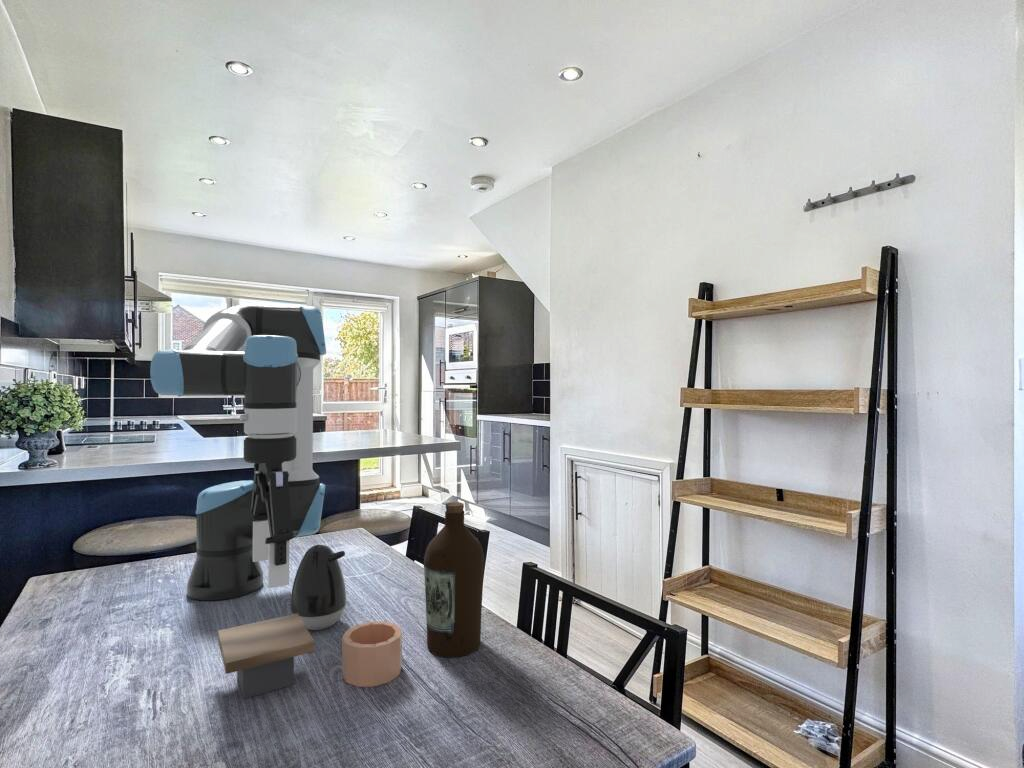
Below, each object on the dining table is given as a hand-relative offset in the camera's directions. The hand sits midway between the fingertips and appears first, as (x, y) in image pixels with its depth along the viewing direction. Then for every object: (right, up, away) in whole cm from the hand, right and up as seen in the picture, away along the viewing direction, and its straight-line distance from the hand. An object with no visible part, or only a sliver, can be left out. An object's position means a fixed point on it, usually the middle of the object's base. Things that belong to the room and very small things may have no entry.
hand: (269, 572), depth 85 cm
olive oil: (+27, -17, +12) cm, 34 cm away
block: (-1, -17, 0) cm, 17 cm away
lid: (-1, -11, 0) cm, 11 cm away
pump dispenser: (+1, -17, +20) cm, 26 cm away
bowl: (+15, -17, +3) cm, 23 cm away
